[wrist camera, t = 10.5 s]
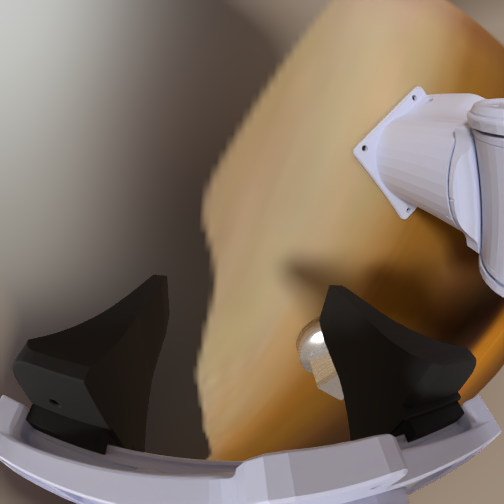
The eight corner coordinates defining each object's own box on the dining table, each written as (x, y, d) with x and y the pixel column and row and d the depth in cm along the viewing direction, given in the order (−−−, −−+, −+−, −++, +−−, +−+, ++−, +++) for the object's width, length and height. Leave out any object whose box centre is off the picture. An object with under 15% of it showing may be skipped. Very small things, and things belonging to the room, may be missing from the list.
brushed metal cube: (360, 347, 25) (375, 377, 21) (329, 369, 26) (340, 400, 22) (340, 330, 23) (356, 362, 20) (307, 354, 24) (317, 388, 21)
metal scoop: (282, 344, 26) (289, 375, 22) (335, 300, 24) (351, 328, 21) (365, 392, 32) (375, 414, 28) (404, 363, 30) (417, 384, 27)
